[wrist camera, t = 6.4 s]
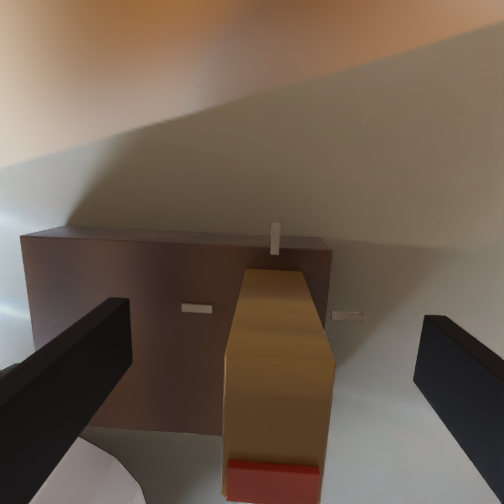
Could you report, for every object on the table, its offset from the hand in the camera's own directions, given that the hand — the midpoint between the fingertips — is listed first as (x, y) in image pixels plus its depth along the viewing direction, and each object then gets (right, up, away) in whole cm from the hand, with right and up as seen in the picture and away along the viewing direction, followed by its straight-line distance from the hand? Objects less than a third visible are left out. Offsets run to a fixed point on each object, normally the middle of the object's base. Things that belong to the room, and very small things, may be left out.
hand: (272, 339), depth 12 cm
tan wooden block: (0, +1, +2) cm, 3 cm away
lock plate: (-4, -1, +6) cm, 7 cm away
